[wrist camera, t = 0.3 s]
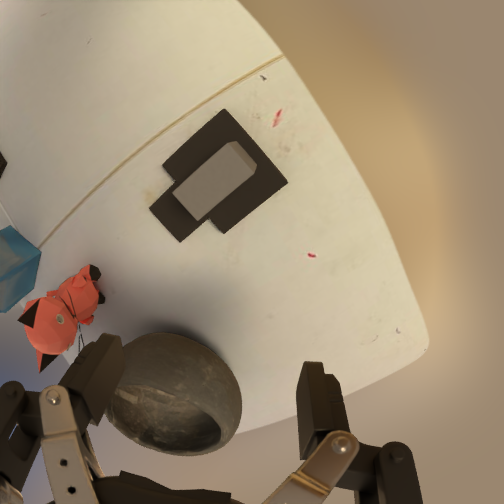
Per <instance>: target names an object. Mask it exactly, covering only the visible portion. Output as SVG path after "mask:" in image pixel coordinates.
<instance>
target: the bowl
mask: <svg viewBox="0 0 504 504" xmlns="http://www.w3.org/2000/svg"><path fill="white" fill-rule="evenodd" d="M123 352H124V357H125V361H126V366H125V371H124V374H123V376H122V378H121V380H120V382H119V384H118V386H117V388H116V390H115V392H114V394H113V396H112V398H111V400H110V402H109V404H108V406H107V408H106V410H105V412H104V414H105V415H106V417H107V418H108V420H109V422H110V423H112V424H113V425H114V426H115V427H116V428H117V429H118V430H119V431H120V432H121V433H122V434H124V435H125V436H126V437H128V438H129V439H131V440H133V441H134V442H136V443H137V444H139V445H141V446H144V447H146V448H149V449H153V450H156V451H159V452H163V453H166V454H171V455H178V456H197V455H204V454H208V453H211V452H214V451H216V450H218V449H220V448H222V447H223V446H224V445H226V444H227V443H228V442H229V441H230V439H231V438H232V437H233V435H234V433H235V432H236V430H237V428H238V426H239V423H240V419H241V414H242V398H241V392H240V388H239V385H238V382H237V380H236V378H235V376H234V374H233V373H232V371H231V370H230V368H229V367H228V365H227V364H226V363H225V362H224V361H223V360H222V359H221V358H220V357H218V356H217V355H216V354H215V353H214V352H213V351H211V350H210V349H209V348H207V347H205V346H203V345H201V344H199V343H197V342H195V341H193V340H191V339H189V338H187V337H184V336H181V335H176V334H171V333H166V332H159V333H151V334H147V335H143V336H141V337H139V338H137V339H135V340H133V341H132V342H130V343H128V344H126V345H125V346H124V347H123Z"/></svg>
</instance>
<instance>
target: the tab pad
mask: <svg viewBox="0 0 504 504" xmlns="http://www.w3.org/2000/svg"><path fill="white" fill-rule="evenodd" d="M162 166H163V167H164V168H165V169H166V170H167V171H168V173H169V174H170V175H171V176H172V177H173V178H174V179H175V180H176V182H175V183H174V184H173V185H172V186H171V187H170V188H169V189H168V190H167V191H166V192H165V193H164V194H163V195H162V196H161V197H160V198H159V199H158V200H157V201H156V202H155V203H154V204H153V205H152V206H151V207H150V208H149V209H150V211H151V212H152V213H153V214H154V215H155V216H156V217H157V218H158V219H159V221H160V222H161V223H162V224H163V225H164V226H165V227H166V228H167V229H168V230H169V231H170V233H171V234H172V235H173V236H174V237H175V238H176V239H177V240H178V241H179V242H182V241H183V240H184V239H185V238H186V237H187V236H189V235H190V234H191V233H192V232H193V231H194V230H195V229H197V228H198V227H199V226H200V225H201V224H202V223H204V222H205V221H206V220H207V219H208V218H210V219H211V220H212V222H213V223H214V224H215V225H216V226H217V227H218V228H219V229H220V230H221V232H222V233H223V234H225V233H226V232H227V231H228V230H229V229H231V228H232V227H233V226H234V225H236V224H237V223H238V222H239V221H241V220H242V219H243V218H244V217H246V216H247V215H248V214H249V213H251V212H252V211H253V210H254V209H256V208H257V207H258V206H259V205H261V204H262V203H263V202H264V201H266V200H267V199H268V198H269V197H271V196H272V195H273V194H274V193H276V192H277V191H278V190H280V189H281V188H282V187H283V186H285V185H286V184H287V183H288V182H287V180H286V178H285V177H284V176H283V175H282V174H281V172H280V171H279V170H278V169H277V167H276V166H275V165H274V164H273V163H272V162H271V160H270V159H269V158H268V157H267V156H266V154H265V153H264V152H263V151H262V150H261V149H260V147H259V146H258V145H257V144H256V143H255V142H254V140H253V139H252V138H251V137H250V136H249V135H248V134H247V132H246V131H245V130H244V129H243V128H242V127H241V126H240V125H239V123H238V122H237V121H236V120H235V119H234V118H233V117H232V116H231V115H230V113H229V112H228V111H227V110H226V109H223V110H221V111H220V112H219V113H218V114H217V115H216V116H214V117H213V118H212V119H211V120H210V121H209V122H207V123H206V124H205V125H204V126H203V127H202V128H201V129H200V130H198V131H197V132H196V133H195V134H194V135H193V136H192V137H191V138H190V139H189V140H187V141H186V142H185V143H184V144H183V145H182V146H181V147H180V148H179V149H178V150H177V151H176V152H175V153H174V154H173V155H172V156H171V157H170V158H169V159H168V160H166V161H165V162H164V163H163V164H162Z"/></svg>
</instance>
